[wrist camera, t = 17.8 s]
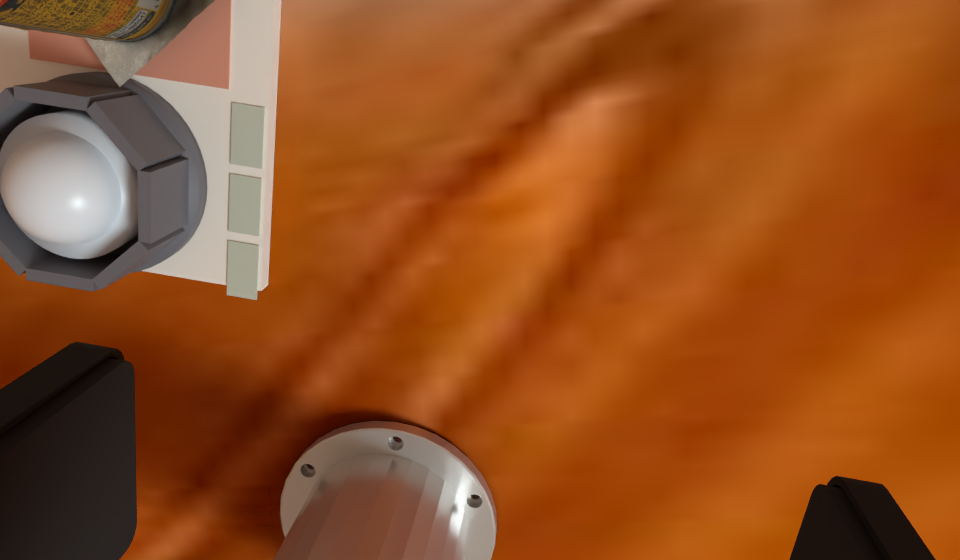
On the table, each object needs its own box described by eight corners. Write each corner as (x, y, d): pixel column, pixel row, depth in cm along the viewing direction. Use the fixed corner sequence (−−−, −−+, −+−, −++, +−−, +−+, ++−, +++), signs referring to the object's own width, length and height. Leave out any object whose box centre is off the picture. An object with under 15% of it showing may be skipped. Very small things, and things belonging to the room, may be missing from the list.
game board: (267, 293, 41) (223, 333, 36) (20, 251, 42) (-59, 284, 36) (287, -131, 34) (236, -159, 29) (-9, -172, 35) (-111, -206, 30)
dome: (166, 253, 38) (107, 287, 34) (38, 232, 39) (-38, 262, 34) (166, 119, 36) (103, 134, 31) (30, 97, 37) (-53, 109, 32)
